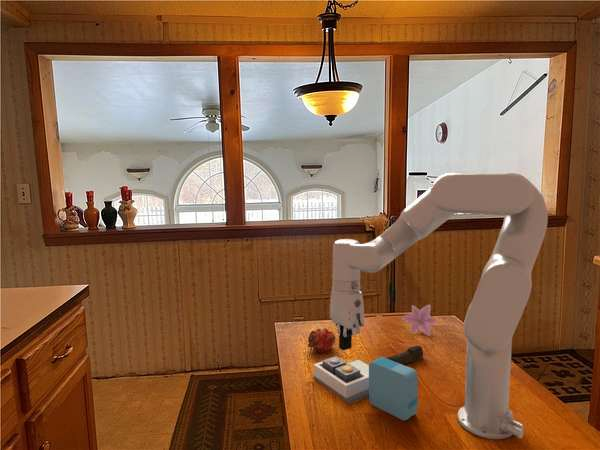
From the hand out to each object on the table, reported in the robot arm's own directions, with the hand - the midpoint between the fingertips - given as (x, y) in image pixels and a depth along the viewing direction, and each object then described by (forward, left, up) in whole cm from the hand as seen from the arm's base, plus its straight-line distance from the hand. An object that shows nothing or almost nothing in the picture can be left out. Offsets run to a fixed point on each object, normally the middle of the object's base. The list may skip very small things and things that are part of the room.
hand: (345, 348), depth 113 cm
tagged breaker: (-1, 0, -9) cm, 9 cm away
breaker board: (+2, -5, -12) cm, 13 cm away
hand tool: (+2, -24, -13) cm, 27 cm away
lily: (+16, -50, -13) cm, 54 cm away
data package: (-15, -4, -12) cm, 19 cm away
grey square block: (+5, 0, -9) cm, 11 cm away
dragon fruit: (+24, -10, -12) cm, 29 cm away
